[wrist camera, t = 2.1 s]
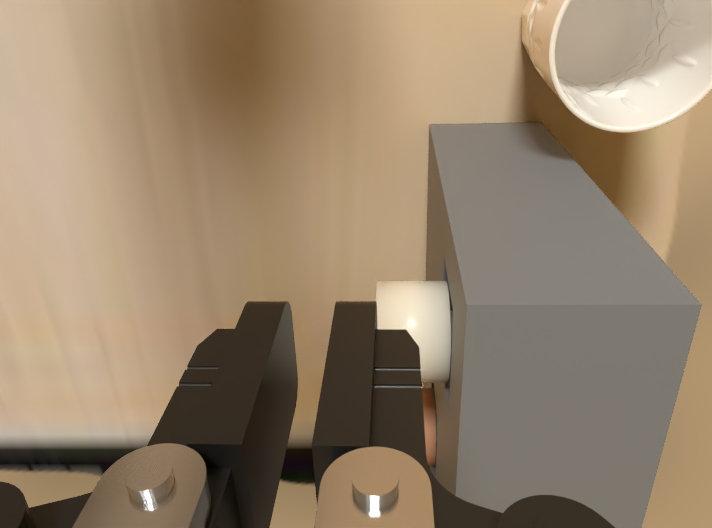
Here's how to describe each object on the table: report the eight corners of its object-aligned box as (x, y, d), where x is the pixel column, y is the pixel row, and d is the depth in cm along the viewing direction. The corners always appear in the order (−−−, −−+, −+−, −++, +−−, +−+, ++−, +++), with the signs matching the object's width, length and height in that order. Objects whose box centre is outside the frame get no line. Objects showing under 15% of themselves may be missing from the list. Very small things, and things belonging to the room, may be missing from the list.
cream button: (379, 343, 29) (377, 403, 25) (377, 263, 27) (374, 315, 23) (503, 344, 29) (521, 405, 25) (511, 263, 27) (531, 315, 23)
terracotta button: (383, 427, 38) (382, 481, 34) (382, 372, 36) (380, 423, 32) (478, 429, 38) (487, 483, 34) (482, 373, 36) (493, 424, 32)
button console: (423, 376, 47) (444, 675, 28) (429, 124, 38) (466, 304, 18) (513, 377, 47) (599, 681, 27) (541, 122, 37) (701, 304, 18)
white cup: (526, 107, 37) (567, 155, 28) (496, -26, 34) (532, -19, 25) (658, 64, 36) (746, 100, 27) (640, -80, 32) (733, -93, 23)
